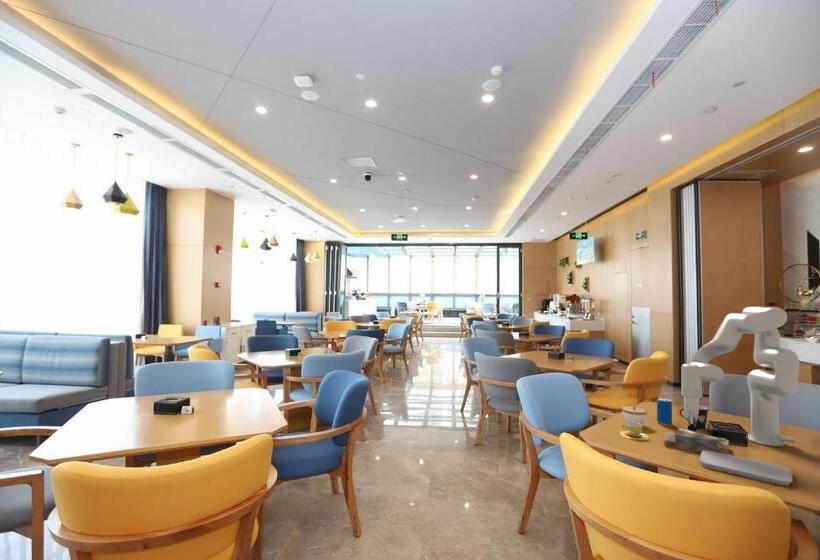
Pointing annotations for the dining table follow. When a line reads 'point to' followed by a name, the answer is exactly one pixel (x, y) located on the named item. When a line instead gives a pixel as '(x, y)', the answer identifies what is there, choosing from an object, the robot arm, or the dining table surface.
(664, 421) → the beverage can
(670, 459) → the dining table surface
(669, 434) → the weathered wood block
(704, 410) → the coffee mug
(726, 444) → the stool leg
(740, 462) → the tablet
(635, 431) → the cup
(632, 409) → the lidded jar
